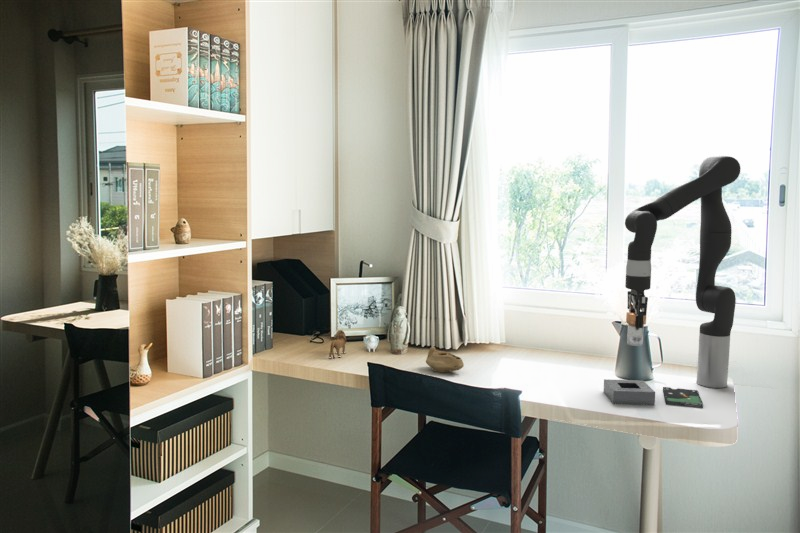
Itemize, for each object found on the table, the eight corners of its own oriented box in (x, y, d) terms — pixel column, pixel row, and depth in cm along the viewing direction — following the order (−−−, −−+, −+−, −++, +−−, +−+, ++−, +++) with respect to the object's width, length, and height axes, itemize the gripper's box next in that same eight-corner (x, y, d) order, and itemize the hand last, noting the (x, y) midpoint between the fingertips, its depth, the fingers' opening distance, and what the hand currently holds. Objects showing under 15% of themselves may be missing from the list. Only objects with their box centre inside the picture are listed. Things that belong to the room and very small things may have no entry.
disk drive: (661, 395, 206) (665, 409, 192) (662, 386, 206) (665, 400, 191) (697, 398, 203) (703, 413, 189) (697, 389, 202) (704, 403, 188)
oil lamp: (458, 378, 222) (458, 355, 221) (419, 371, 229) (419, 349, 228) (470, 370, 231) (471, 348, 230) (433, 364, 238) (433, 343, 238)
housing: (603, 394, 204) (604, 379, 203) (642, 395, 203) (643, 380, 202) (613, 407, 192) (613, 390, 191) (654, 408, 191) (655, 392, 190)
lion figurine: (334, 350, 259) (334, 328, 258) (347, 351, 258) (347, 329, 257) (327, 360, 244) (327, 337, 243) (341, 360, 244) (341, 337, 243)
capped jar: (622, 341, 211) (624, 311, 210) (641, 342, 211) (643, 312, 210) (627, 346, 205) (629, 315, 204) (647, 346, 205) (648, 315, 204)
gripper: (657, 277, 198) (655, 330, 200) (643, 271, 212) (641, 321, 214) (632, 276, 199) (630, 330, 200) (620, 271, 213) (618, 321, 215)
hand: (635, 325), depth 207 cm, fingers closed on capped jar, 6 cm apart
